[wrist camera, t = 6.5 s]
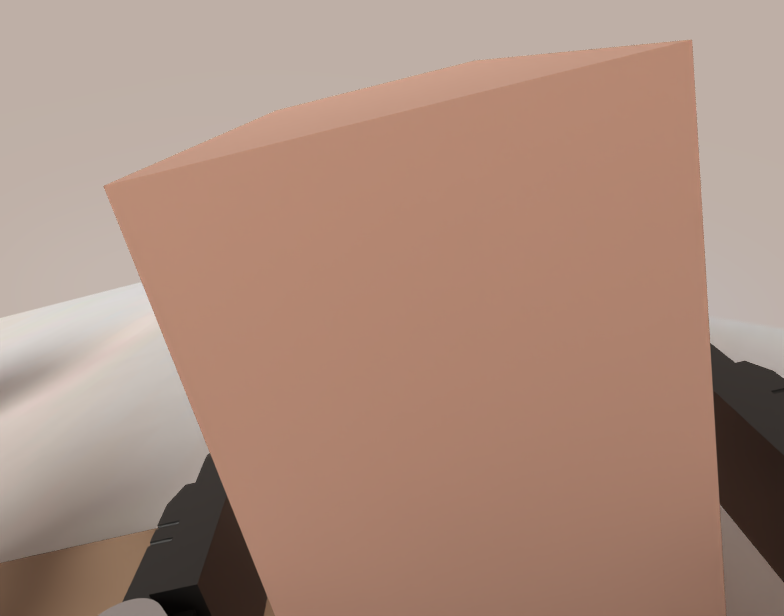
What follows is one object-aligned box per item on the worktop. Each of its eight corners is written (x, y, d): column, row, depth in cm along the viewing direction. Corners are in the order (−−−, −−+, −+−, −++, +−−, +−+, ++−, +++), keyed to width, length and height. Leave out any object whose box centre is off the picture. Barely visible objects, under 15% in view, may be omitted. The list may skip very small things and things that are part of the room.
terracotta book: (451, 1058, 11) (103, 185, 5) (409, 571, 21) (276, 110, 16) (748, 1005, 10) (692, 38, 5) (558, 539, 21) (473, 60, 15)
